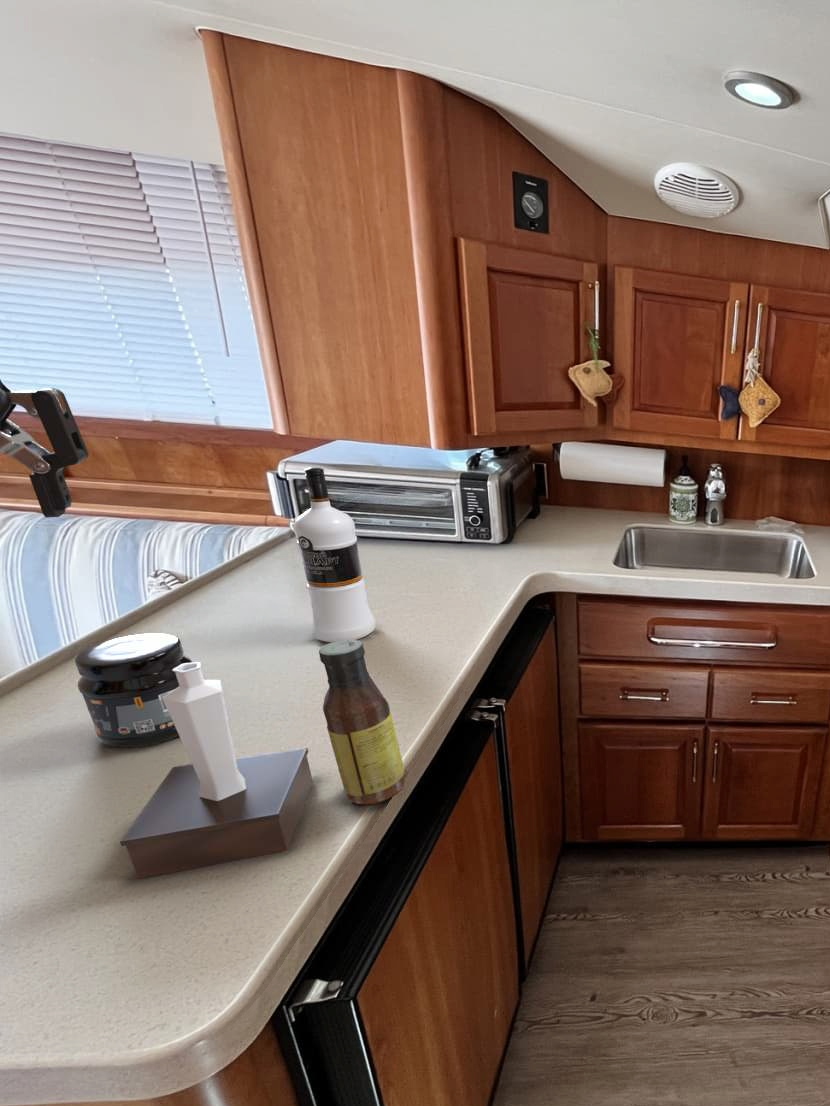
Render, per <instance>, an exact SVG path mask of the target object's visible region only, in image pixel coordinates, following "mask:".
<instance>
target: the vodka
mask: <svg viewBox="0 0 830 1106" xmlns="http://www.w3.org/2000/svg"><path fill="white" fill-rule="evenodd" d="M303 470H304V471H303V472H304V475H305V477H304V478H305V480H306V485H307V491H308V496H309V500H310V508H309V509H307V510H306V511H304V512H303V513H301V514H300V515H299V516H297V517H296V519H295V520H294V523H293V532H294V534H295V537H296V540H297V541H296V543H297V546H299V551H300V557H301V560H302V566H303V570H304V574H305V578H306V579H305V580H306V585H305V587H306V589H307V592H308V594H309V595H308V596H309V598H310V604H311V610H312V624H311V629H312V634H313V636H314V637H315V638H316V639H317V640H319V641H322V642H326V643H332V642H335V641H339V640H345V639H353V640H357V641H358V640H360V639H362V638H364V637H367V636H368V635H370V634H372V632H373V631H374V630H375V628H376V619H375V616H374V615H373V612H372V610H371V608H370V605H369V603H368V597H367V593H366V586H365V582H366V580H365V578H364V577H363V571H362V566H361V560H360V553H359V548H358V544H357V542H358V536H357V535H356V525H355V523H356V522H355V521H354V519H353V518H352V517H351V516H350V515H349V514H348V513H345V512H343V511H341V510H339V509H337V508H335V507H333V506H331V502H330V496H329V491H328V487H327V482H326V475H325V469H324V468H322V467H313V466H312V467H306V468H305V469H303Z"/></svg>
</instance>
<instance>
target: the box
mask: <svg viewBox="0 0 830 1106" xmlns="http://www.w3.org/2000/svg"><path fill="white" fill-rule="evenodd" d="M308 753H309V748H308V747H303V748H296V749H288V750H281V751H276V752H267V753H260V754H256V755H248V756H241V757H235V758H236V763H237V769H238V770H239V772H240V773H241V774H242V776H243V777H244V778H245V785H246V789H245V790H243V791H241V792H238V793H236V794H234V795H231V796H229V797H227V798H224V799H222V800H219V801H214V800H210V799H206V798H202V797H200V788H201V782H200V780H199V778H198V776H197V773H196V771H195V769H194V767H193V765H192V763H191V764H185V765H177V766H173V767H172V768H171V769H170V771H169V772H168V774H167V775H166V777H164V779H163V781H162V782H161V784H160V785H159V786H158V788H157V789H156V790H155V792H154V793H153V794H152V795H151V797H150V799H149V800H148V802H147V803H146V804H145V806H144V807H143V808H142V809H141V811H140V812H139V814H138V815H137V816H136V818H135V820H134V821H133V822H132V823H131V825H130V827H129V828H128V829H127V831H126V832H125V834H124V835H123V836H122V837H121V839H120V840H119V845H120V847H125V848H126V851H127V853H128V855H129V859H130V862H131V864H132V867H133V869H134V871H135V874H136V876H137V878H138V880H141V879H142V880H143V879H146V878H147V879H148V878H151V877H158V876H162V875H167V874H172V873H173V874H174V873H177V872H182V871H187V870H193V869H198V868H202V867H203V868H204V867H207V866H213V865H219V864H224V863H228V862H233V861H238V860H244V859H248V858H254V857H259V856H265V855H269V854H275V853H279V852H284V851H287V850H288V849H289V846H290V844H291V841H292V838H293V836H294V833H295V831H296V828H297V826H298V823H299V821H300V818H301V815H302V813H303V810H304V808H305V805H306V802H307V800H308V797H309V795H310V792H311V790H312V787H313V784H314V779H313V776H312V772H311V768H310V763H309V760H308V759H309V758H308Z"/></svg>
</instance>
